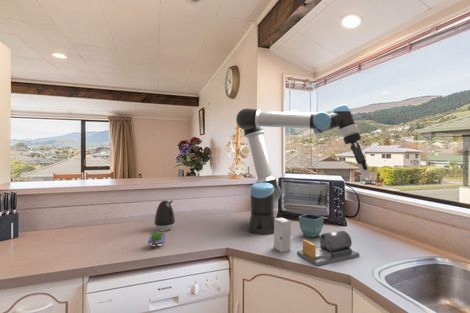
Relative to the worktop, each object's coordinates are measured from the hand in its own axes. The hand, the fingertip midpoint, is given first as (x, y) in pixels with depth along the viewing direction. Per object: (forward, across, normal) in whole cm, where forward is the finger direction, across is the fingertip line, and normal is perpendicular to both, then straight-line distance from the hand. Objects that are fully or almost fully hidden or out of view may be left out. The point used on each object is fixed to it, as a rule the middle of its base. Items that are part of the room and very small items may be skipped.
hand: (366, 175), depth 119 cm
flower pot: (+19, -14, +32) cm, 40 cm away
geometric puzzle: (-1, -52, +89) cm, 103 cm away
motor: (+21, -35, +25) cm, 48 cm away
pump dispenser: (-5, -30, +100) cm, 105 cm away
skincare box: (+16, -36, +42) cm, 57 cm away
